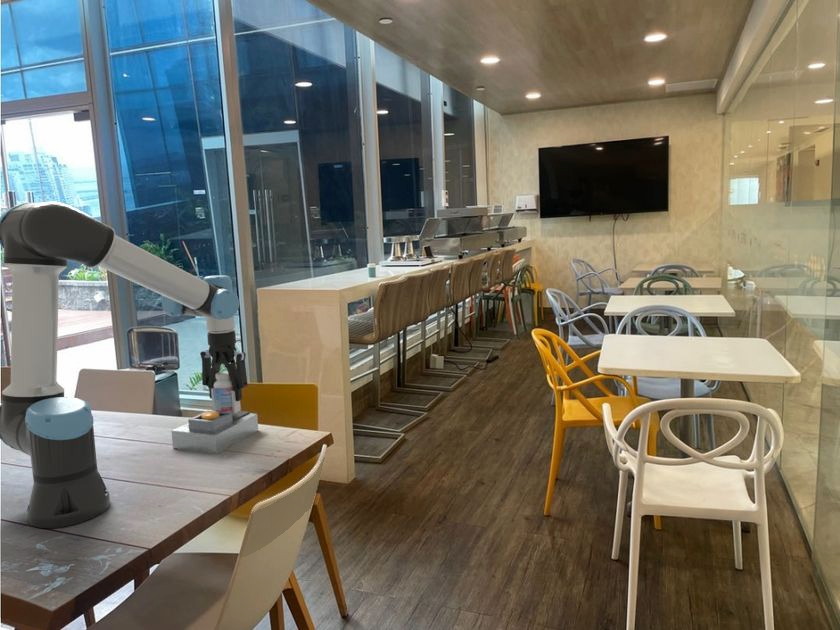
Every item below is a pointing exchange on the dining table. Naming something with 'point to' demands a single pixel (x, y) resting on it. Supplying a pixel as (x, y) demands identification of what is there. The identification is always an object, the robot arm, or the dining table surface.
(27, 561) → the dining table surface
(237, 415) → the stepped grey tray base
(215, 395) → the pill bottle
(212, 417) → the button
